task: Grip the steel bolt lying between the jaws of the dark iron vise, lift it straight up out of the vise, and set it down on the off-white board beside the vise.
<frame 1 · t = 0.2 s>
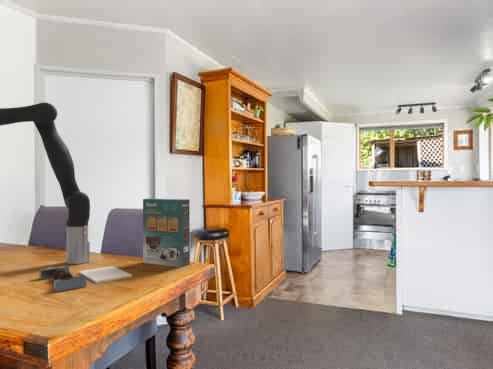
bolt: (62, 283, 135), on the table
cake mix box: (166, 264, 166), on the table
board: (104, 275, 145), on the table
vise: (61, 282, 135), on the table
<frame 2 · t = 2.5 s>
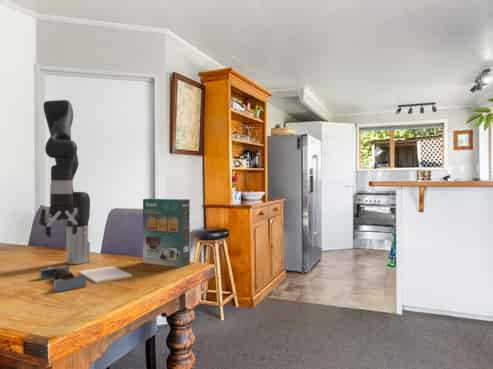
hand: (61, 235, 134), 18 cm above the table, tool pointing down, fingers open, 8 cm apart
nothing on the table moved.
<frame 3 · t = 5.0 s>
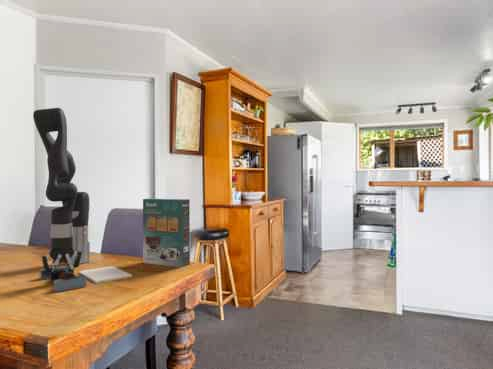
hand: (61, 280, 135), 1 cm above the table, tool pointing down, fingers closed on bolt, 5 cm apart
bolt: (62, 283, 134), on the table, touching gripper
everything else where it was.
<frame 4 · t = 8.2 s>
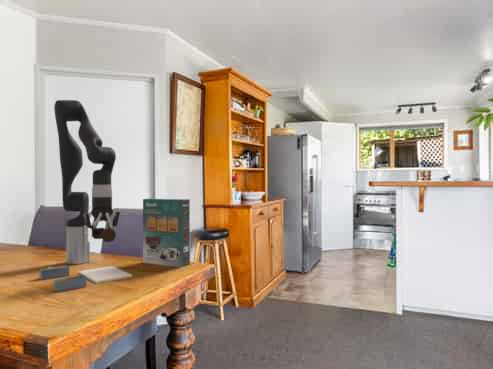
hand: (102, 237, 145), 15 cm above the table, tool pointing down, fingers closed on bolt, 5 cm apart
bolt: (102, 240, 144), point 14 cm above the table, touching gripper
everything else where it was.
when the fingers open (3 cm above the table, at t = 11.5 s): bolt drops 1 cm, resting on board.
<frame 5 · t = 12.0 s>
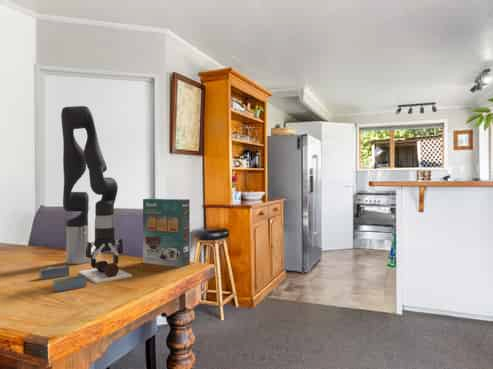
hand: (104, 266, 145), 4 cm above the table, tool pointing down, fingers open, 8 cm apart
bolt: (105, 273, 145), point 1 cm above the table, touching board
everything else where it was.
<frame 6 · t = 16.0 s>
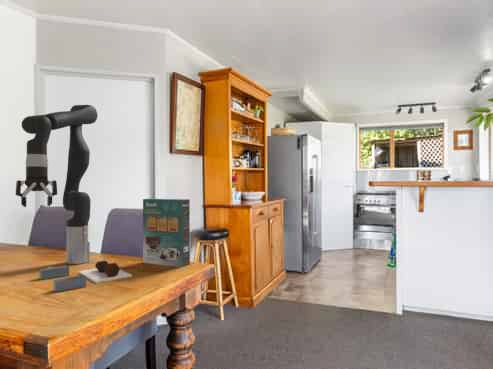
hand: (37, 206, 143), 28 cm above the table, tool pointing down, fingers open, 8 cm apart
nothing on the table moved.
at the end: bolt inside the target area on the board (0.7 cm from its centre), point 0.6 cm above the board's base; the gripper is holding nothing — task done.
